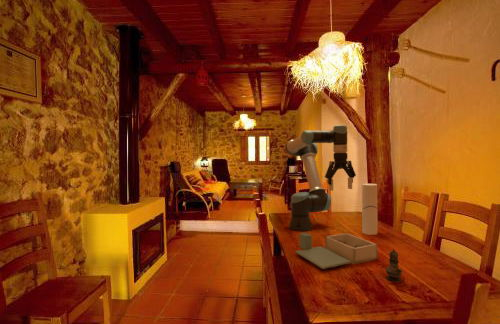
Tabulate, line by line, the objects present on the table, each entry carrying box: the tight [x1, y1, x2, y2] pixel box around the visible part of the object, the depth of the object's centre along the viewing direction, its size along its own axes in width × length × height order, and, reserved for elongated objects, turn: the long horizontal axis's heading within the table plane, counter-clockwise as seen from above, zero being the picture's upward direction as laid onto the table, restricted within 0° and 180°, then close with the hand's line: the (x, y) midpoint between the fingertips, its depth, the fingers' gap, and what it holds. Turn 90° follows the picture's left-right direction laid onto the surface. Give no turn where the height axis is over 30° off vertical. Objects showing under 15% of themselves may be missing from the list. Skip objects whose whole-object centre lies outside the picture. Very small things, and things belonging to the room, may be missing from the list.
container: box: [361, 183, 379, 236], centre depth 166 cm, size 9×9×30 cm
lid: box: [295, 232, 351, 270], centre depth 128 cm, size 26×15×9 cm, turn 22°
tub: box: [324, 232, 378, 265], centre depth 132 cm, size 20×14×7 cm
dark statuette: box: [385, 248, 403, 283], centre depth 106 cm, size 6×6×12 cm
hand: (340, 189), depth 154 cm, fingers open, 13 cm apart
